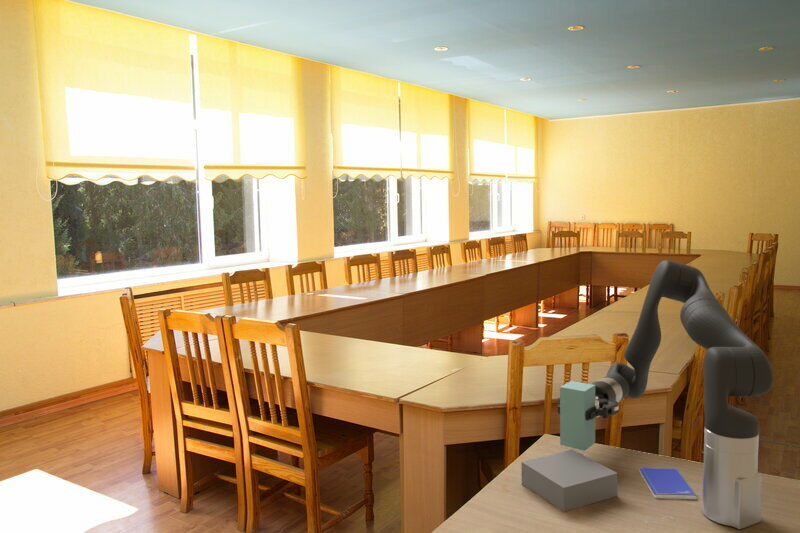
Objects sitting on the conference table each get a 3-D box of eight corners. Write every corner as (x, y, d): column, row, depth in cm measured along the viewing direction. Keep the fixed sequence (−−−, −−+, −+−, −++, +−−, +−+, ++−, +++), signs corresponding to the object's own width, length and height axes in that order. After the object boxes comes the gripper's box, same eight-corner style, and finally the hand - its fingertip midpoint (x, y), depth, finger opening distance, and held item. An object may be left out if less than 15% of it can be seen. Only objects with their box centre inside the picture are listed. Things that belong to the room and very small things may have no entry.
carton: (595, 442, 149) (595, 384, 148) (584, 450, 145) (584, 391, 143) (571, 437, 153) (571, 380, 152) (560, 444, 149) (560, 387, 147)
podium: (617, 496, 132) (617, 473, 131) (563, 511, 126) (563, 487, 125) (572, 470, 144) (572, 449, 144) (521, 483, 138) (521, 461, 138)
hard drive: (696, 494, 129) (677, 468, 142) (655, 493, 130) (639, 467, 143) (696, 501, 129) (677, 475, 142) (654, 500, 130) (639, 474, 143)
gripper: (575, 376, 163) (544, 392, 151) (630, 385, 154) (603, 403, 141) (575, 404, 164) (545, 423, 151) (630, 415, 155) (603, 435, 142)
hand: (573, 413), depth 146 cm, fingers closed on carton, 6 cm apart
